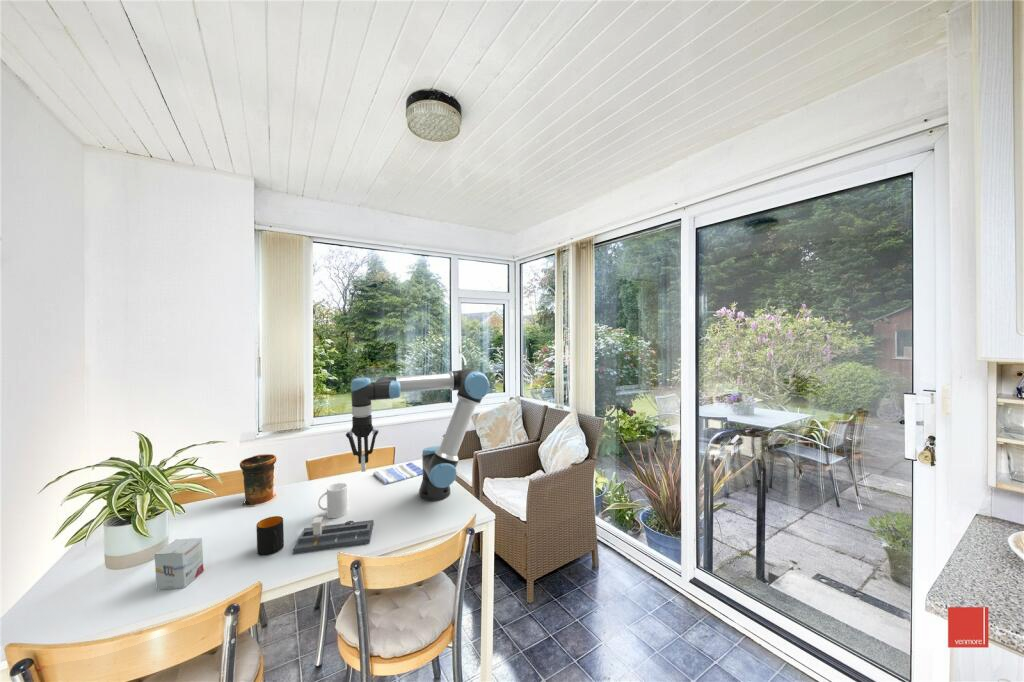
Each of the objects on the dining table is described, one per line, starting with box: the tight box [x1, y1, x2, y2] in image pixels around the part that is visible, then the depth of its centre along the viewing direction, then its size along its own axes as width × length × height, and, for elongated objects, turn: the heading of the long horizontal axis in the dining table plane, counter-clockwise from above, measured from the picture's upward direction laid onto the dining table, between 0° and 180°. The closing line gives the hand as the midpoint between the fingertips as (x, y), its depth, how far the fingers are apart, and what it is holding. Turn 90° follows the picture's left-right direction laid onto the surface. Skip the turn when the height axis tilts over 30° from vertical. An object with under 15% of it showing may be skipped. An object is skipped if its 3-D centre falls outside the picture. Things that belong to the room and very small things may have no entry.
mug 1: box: [256, 515, 285, 557], centre depth 135 cm, size 8×12×10 cm
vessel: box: [239, 453, 277, 508], centre depth 174 cm, size 14×14×20 cm
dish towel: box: [372, 462, 423, 486], centre depth 204 cm, size 17×24×3 cm
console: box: [292, 519, 375, 555], centre depth 143 cm, size 26×14×3 cm, turn 104°
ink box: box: [154, 537, 204, 591], centre depth 119 cm, size 9×9×12 cm
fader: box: [311, 516, 324, 535], centre depth 141 cm, size 3×4×6 cm
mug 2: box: [317, 482, 349, 519], centre depth 161 cm, size 12×8×12 cm
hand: (363, 470), depth 155 cm, fingers closed
